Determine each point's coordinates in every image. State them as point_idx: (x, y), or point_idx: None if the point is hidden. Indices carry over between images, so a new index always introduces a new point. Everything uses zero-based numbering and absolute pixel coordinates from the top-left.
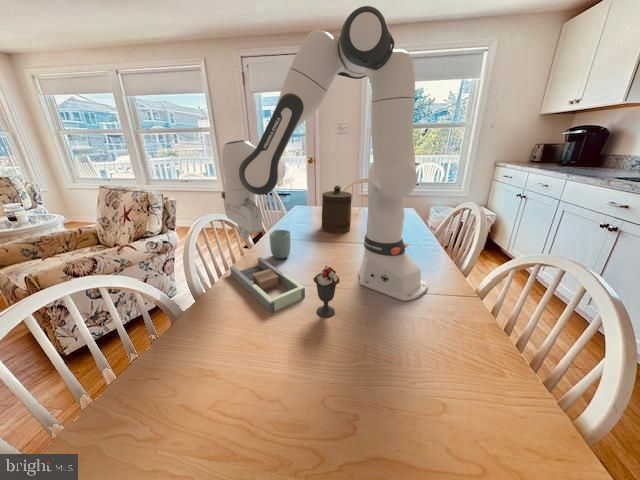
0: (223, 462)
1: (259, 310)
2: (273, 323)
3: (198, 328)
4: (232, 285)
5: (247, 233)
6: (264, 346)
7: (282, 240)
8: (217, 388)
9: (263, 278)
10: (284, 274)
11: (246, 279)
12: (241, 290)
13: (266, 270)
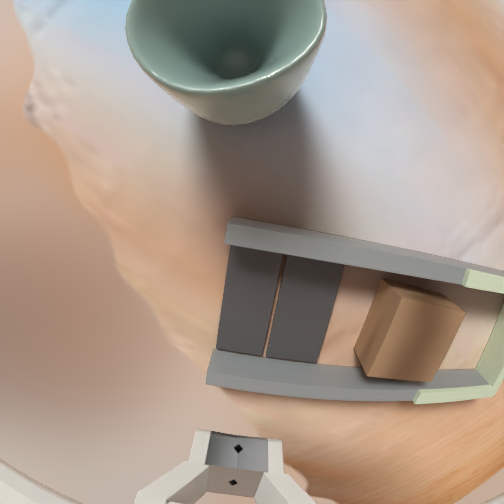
0: (501, 467)
1: None
2: None
3: (372, 481)
4: None
5: (285, 483)
6: (496, 417)
7: (312, 59)
8: (469, 469)
9: (428, 362)
10: (473, 279)
11: (362, 395)
12: None
13: (399, 318)
